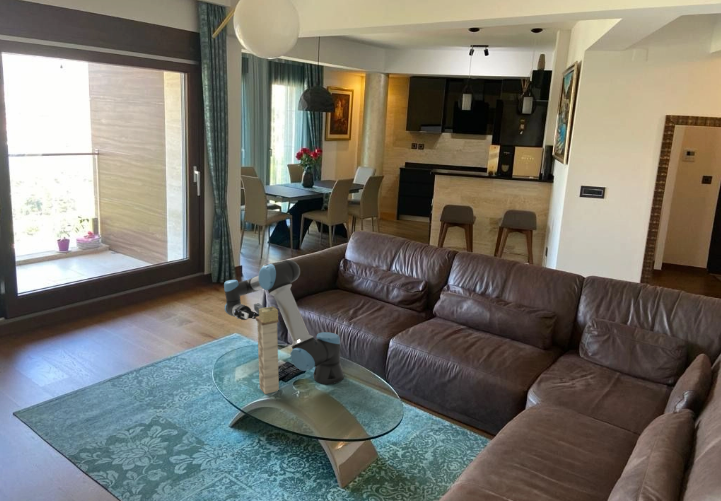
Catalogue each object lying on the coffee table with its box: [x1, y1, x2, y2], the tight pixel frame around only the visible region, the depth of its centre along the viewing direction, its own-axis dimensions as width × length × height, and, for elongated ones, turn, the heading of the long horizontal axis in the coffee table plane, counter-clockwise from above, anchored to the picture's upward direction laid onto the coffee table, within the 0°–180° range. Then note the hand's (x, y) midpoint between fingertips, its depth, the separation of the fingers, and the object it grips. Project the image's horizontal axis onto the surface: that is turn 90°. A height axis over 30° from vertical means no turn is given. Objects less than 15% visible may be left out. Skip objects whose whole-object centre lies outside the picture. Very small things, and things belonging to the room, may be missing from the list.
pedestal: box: [255, 316, 280, 395], centre depth 258 cm, size 8×8×36 cm
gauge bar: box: [253, 303, 279, 323], centre depth 257 cm, size 18×7×5 cm, turn 32°
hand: (259, 318), depth 271 cm, fingers open, 13 cm apart
